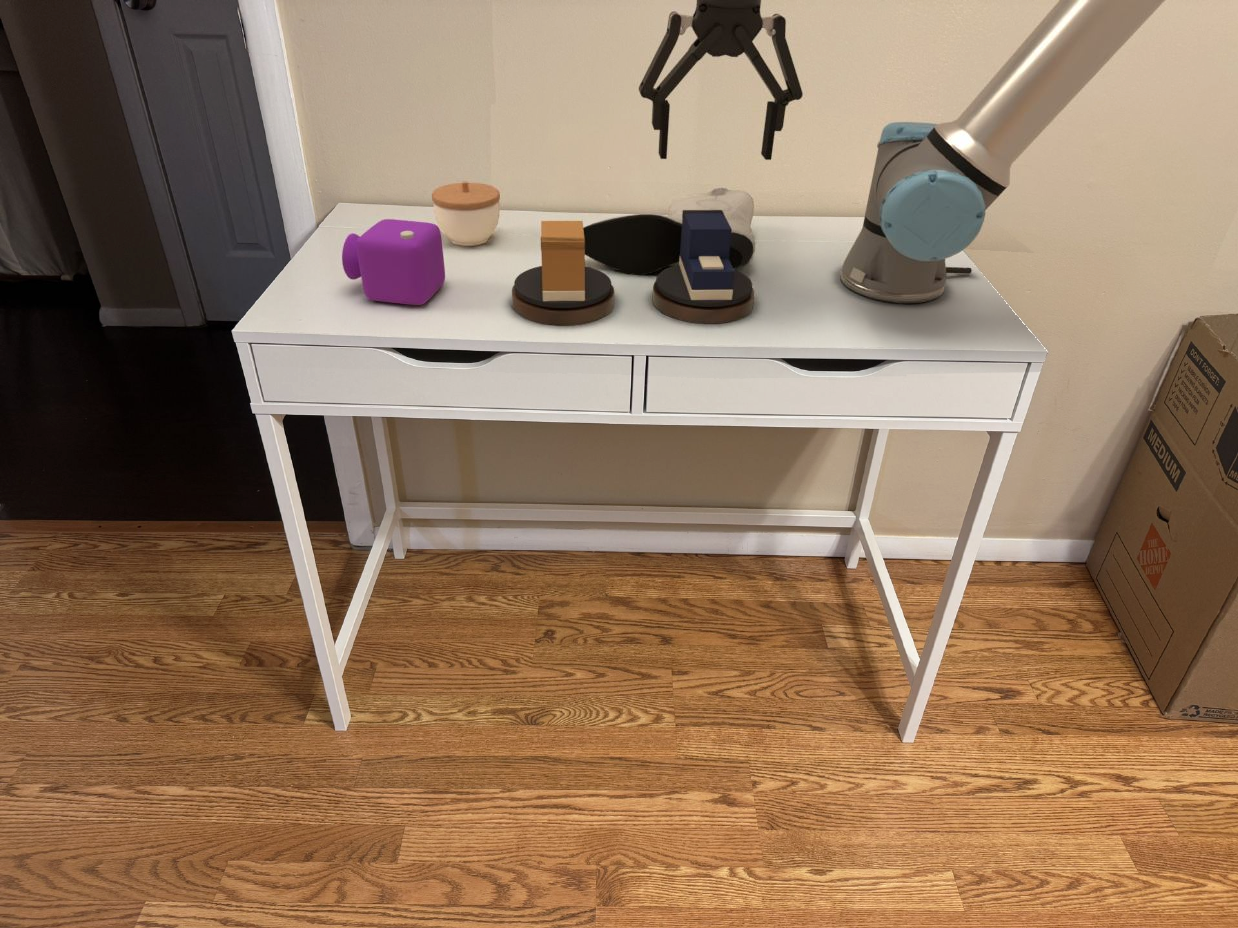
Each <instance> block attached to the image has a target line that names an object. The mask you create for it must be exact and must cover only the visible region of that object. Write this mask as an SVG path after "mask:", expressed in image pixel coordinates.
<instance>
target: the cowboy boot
mask: <svg viewBox="0 0 1238 928" xmlns="http://www.w3.org/2000/svg"><path fill="white" fill-rule="evenodd" d="M683 210H722V211H723V213H724V215H725V217H726V219H727V221H728V223H729V225H730V227H731V229H732V232H731V242H730V251H729V261H730V263H731V265H732V267H733V269H740V268H742V267H745V266H746V265H747V264H748V263H749V262H750V261H751V260H752V258H753V256H754V254H755V252H756V239H755V237H754V235H753V233H752V227H751V226H752V221H753V217H754V212H755V201H754V198H753V197H752V196H751V194H750V193H748V192H747V191H745V190H740V189H728V188H726V187H718V188H715V189H713V190H711V191H709V192H704V193H697V194H693V195H688V196H684V197H683V196H682V197H678V198H676V199H673V200H672V201H671V202H670V203H669V205H668V211H667V212H668V213H667V215H665V214H658V213H636V214H629V215H627V214H626V215H621V216H616V217H609V218H605V219H601V220H598V221H596V222H593V223H590V224H589V225H586V226H583V230H584V237H585V256H587V257H588V258H590V259H592V260H594V261H595V262H597V263H599V264H601V265H604V266H606V267H609V268H611V269H613V270H616V271H618V272H622V273H625V274H628V275H637V276H639V275H641V276H643V275H649V274H652V273H655V272H657V271H660V270H662V269H664V268H666V267H673V266H676V265H679V258H680V247H681V232H682V213H683Z"/></svg>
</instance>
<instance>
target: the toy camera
mask: <svg viewBox="0 0 1238 928" xmlns="http://www.w3.org/2000/svg"><path fill="white" fill-rule="evenodd" d="M441 232H442V231H441V229H440V227H439V225H438V224H435V223H432V222H427V221H415V220H404V219H394V218H386V219H381V220H380V221H378V222H376V223H375V224H374V225H372V226H371V227H370V228H368V229H367V230H366V231H365V232H363V233H362V234H361V235H359V234H356V233H353V232H352V233H349V235H348V236H346V238H345V241H344V243H343V246H342V252H341V264H342V268H343V271H344V274H345V275H346V277H347V278H348V279H349V280H358V279H360V278H361V285H362V289H363V293H364V295H365V297H366V298H367V299H368V300H372V301H376V302H382V303H390V304H391V303H392V304H402V305H409V306H410V305H411V306H420V305H424V304H426V303H427V302H428V301H429V300H430V299H431V298H432V297H433V296H434V295H435V293H436V292H437V291H438V290H439V289H440V288H441V287H442V286H443V284H444V283H445V281H446V268H445V259H444V248H443V239H442V233H441Z"/></svg>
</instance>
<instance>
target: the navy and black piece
mask: <svg viewBox="0 0 1238 928" xmlns="http://www.w3.org/2000/svg"><path fill="white" fill-rule="evenodd" d="M731 232H732V229H731V227H730V225H729V223H728V221H727V219H726V217H725V215H724V213H723V211H722V210H683V213H682V232H681V247H680V258H679V265H676V266H669V267H668V268H665V269H663V270H662V271H660V272H659V273H658V274H657V276H656V280H655V281H656V287H657V289H658V291H659V292H660V293H661V294H662V295H664V296H665V297H667V298H669V299H671V300H673V301H676V302H679V303H683V304H687V305H692V306H701V307H720V306H728V305H733V304H736V303H739V302H741V301H744V300H745V299H747V298H748V297H749V296H750V294H751V292H752V287H753V282H752V279H751V278H750V277H749V276H748V275H746V274H745V273H743V272H741V271H740V270H738V269H736V268H734V269H733V267H732V265H731V263H730V261H729V251H730V242H731Z"/></svg>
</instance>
